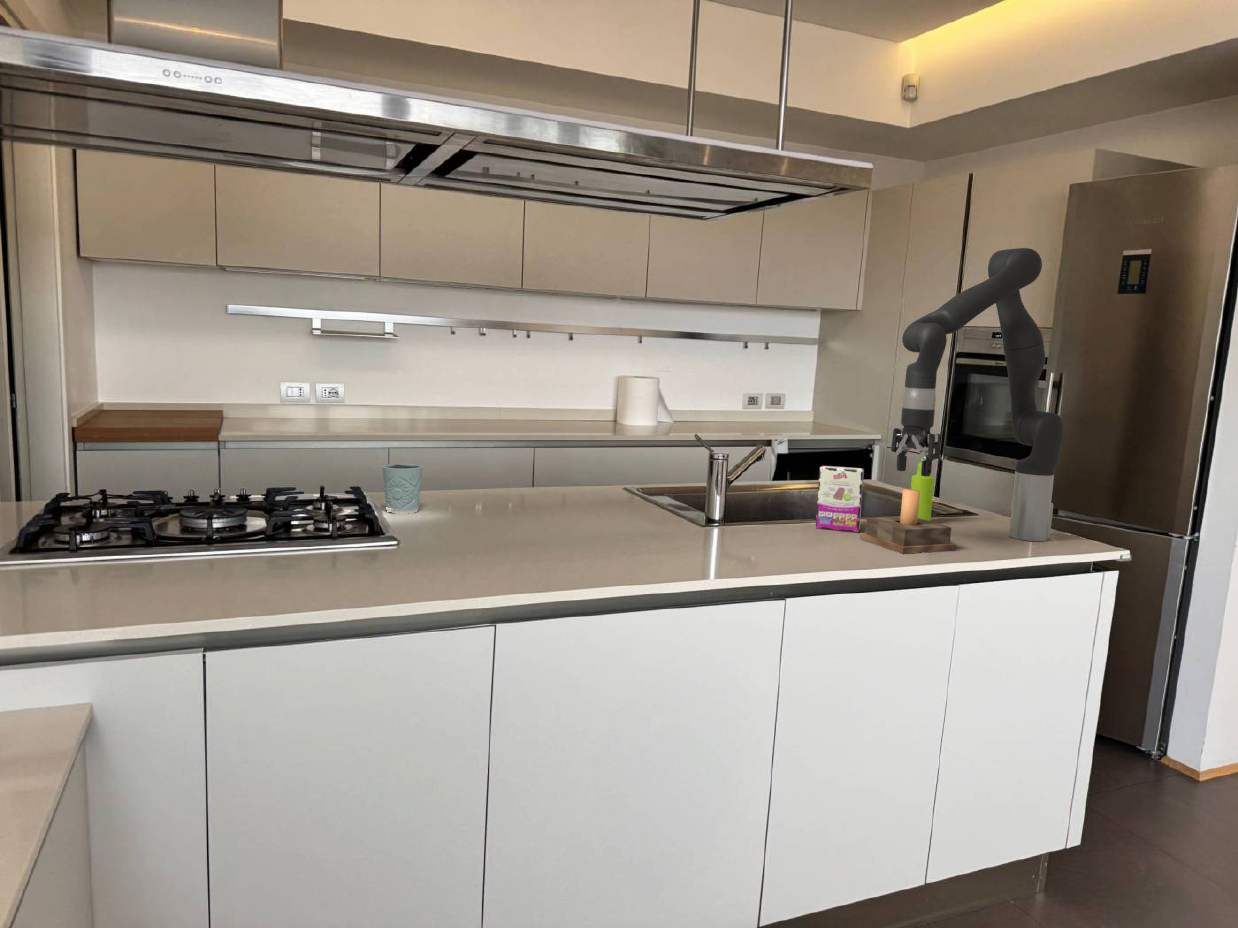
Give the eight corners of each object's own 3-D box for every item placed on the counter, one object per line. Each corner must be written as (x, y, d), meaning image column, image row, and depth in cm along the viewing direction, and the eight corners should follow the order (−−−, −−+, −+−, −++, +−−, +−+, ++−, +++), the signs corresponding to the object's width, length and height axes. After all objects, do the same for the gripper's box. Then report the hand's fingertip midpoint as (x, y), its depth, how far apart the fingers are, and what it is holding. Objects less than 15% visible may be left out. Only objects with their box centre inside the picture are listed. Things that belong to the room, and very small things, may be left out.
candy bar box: (860, 529, 233) (865, 468, 231) (858, 533, 228) (863, 470, 226) (816, 525, 237) (821, 464, 234) (814, 528, 232) (819, 466, 230)
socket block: (909, 535, 228) (911, 514, 227) (955, 550, 213) (957, 528, 212) (859, 538, 221) (861, 517, 221) (902, 553, 207) (904, 531, 206)
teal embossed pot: (393, 516, 224) (394, 469, 222) (375, 509, 231) (375, 464, 230) (429, 512, 231) (429, 467, 229) (409, 505, 238) (410, 461, 237)
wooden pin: (907, 536, 220) (912, 488, 218) (919, 540, 216) (923, 491, 214) (895, 537, 218) (899, 489, 216) (906, 540, 214) (910, 492, 213)
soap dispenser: (935, 526, 242) (942, 453, 239) (909, 524, 243) (915, 452, 240) (932, 522, 247) (938, 451, 245) (906, 520, 249) (912, 449, 246)
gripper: (952, 409, 207) (946, 477, 210) (910, 404, 220) (905, 468, 223) (927, 409, 205) (921, 478, 207) (886, 404, 218) (881, 469, 220)
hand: (913, 473), depth 215 cm, fingers open, 8 cm apart
